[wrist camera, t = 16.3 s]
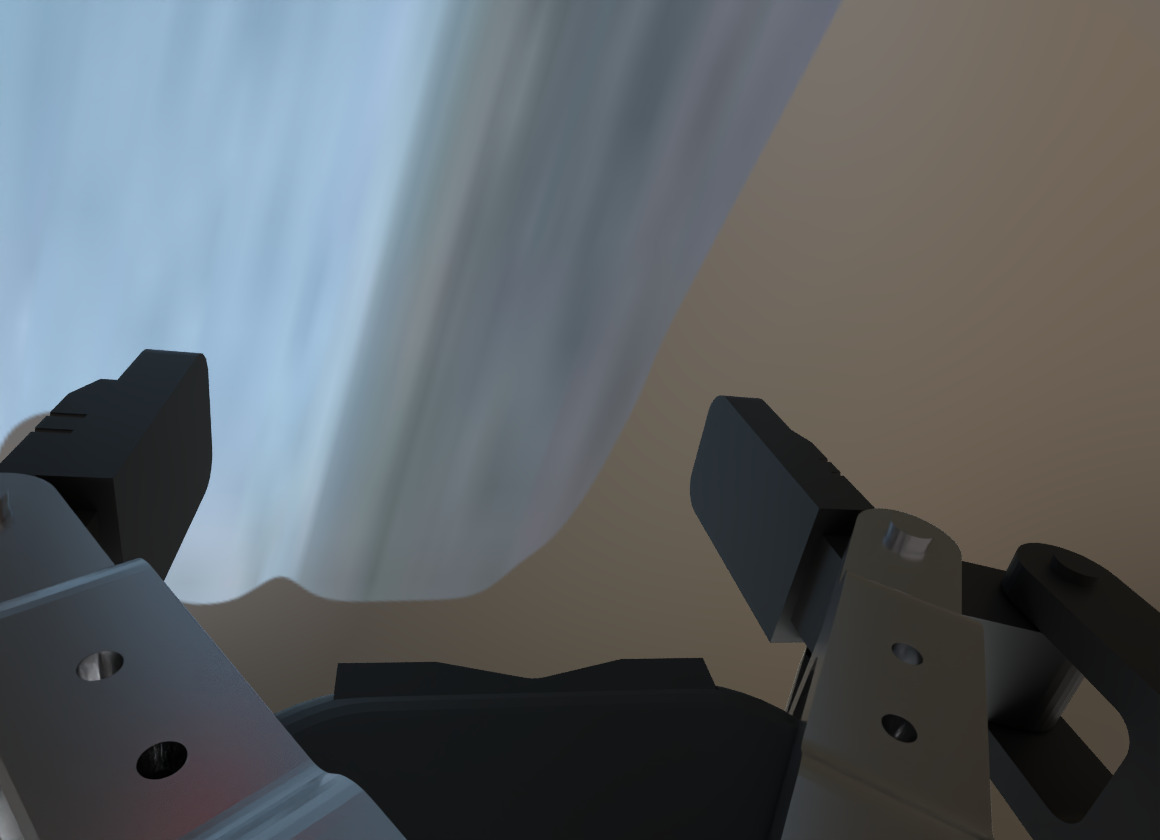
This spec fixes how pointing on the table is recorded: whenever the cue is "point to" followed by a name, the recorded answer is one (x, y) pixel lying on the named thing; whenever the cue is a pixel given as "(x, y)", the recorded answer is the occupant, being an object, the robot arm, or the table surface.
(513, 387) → the table surface
